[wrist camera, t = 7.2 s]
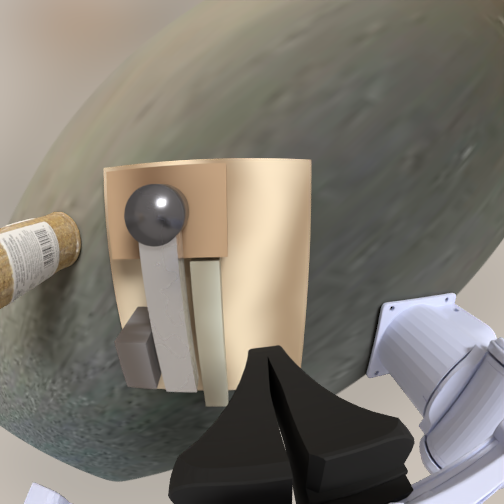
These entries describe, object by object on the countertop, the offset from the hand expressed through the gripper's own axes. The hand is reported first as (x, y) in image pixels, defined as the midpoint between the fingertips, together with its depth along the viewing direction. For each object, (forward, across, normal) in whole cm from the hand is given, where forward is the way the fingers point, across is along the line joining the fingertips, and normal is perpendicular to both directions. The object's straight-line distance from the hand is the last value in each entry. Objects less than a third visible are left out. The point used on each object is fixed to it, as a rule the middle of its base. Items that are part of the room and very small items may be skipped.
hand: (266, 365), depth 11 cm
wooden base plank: (+9, +3, 0) cm, 10 cm away
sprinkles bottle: (+10, +15, -5) cm, 18 cm away
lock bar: (+5, +5, -2) cm, 7 cm away
